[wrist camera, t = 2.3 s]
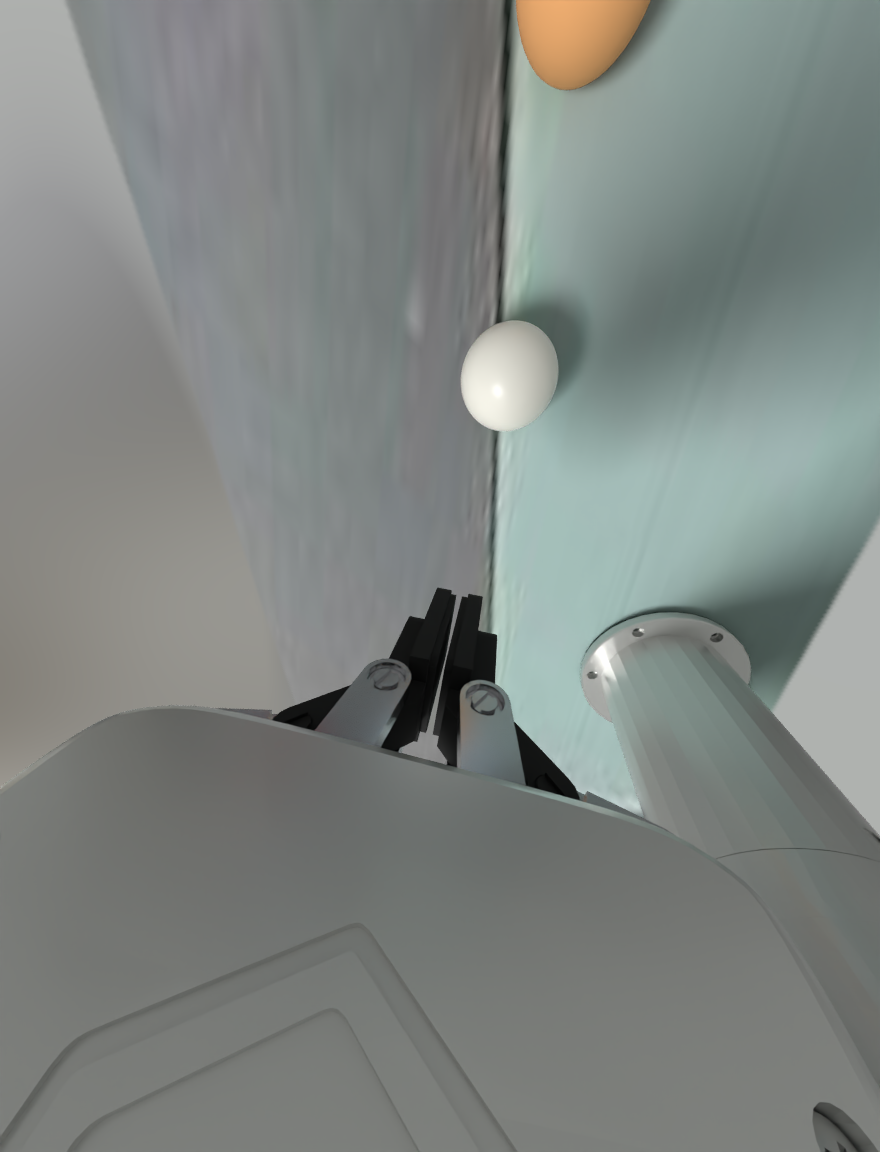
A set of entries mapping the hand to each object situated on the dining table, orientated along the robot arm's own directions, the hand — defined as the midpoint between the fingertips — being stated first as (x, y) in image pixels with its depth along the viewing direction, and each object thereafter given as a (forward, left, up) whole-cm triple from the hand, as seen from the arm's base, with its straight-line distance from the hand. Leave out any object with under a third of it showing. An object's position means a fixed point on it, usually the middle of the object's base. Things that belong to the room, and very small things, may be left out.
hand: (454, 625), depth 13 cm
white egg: (+7, -6, -12) cm, 15 cm away
